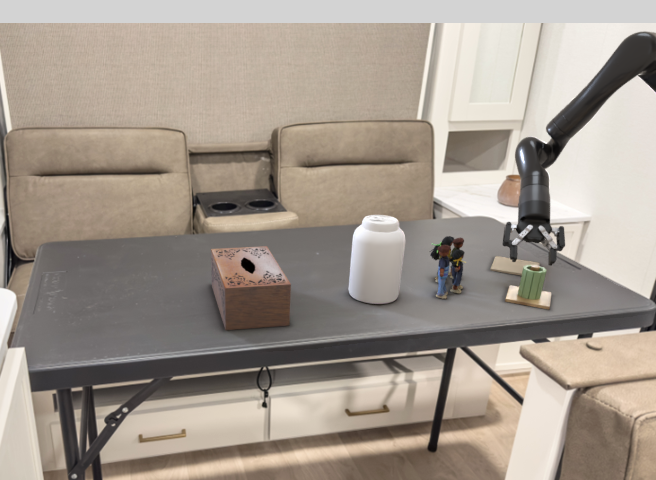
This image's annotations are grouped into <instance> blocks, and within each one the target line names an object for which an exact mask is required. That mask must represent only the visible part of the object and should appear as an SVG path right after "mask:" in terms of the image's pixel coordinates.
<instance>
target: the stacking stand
mask: <svg viewBox="0 0 656 480" xmlns="http://www.w3.org/2000/svg"><path fill="white" fill-rule="evenodd" d="M539 266H540V265H539ZM539 266H537V265H531V268H530V270H532V271H539V269H540V267H541V266H540V267H539ZM518 290H519V286H516V285H511V284H509V286H508V289H507V292H506V296H505V298H504V302H506V303H511V304H517V305H521V306H528V307H534V308H539V309H544V310H547V311H549V310H550V307H551V302H552V301H551V300H552V292H551V291H546V290H542V292H541V297H540V299H536V300H531V299H526V298H522V297H520V296H519V295H518Z"/></svg>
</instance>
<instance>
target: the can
mask: <svg viewBox="0 0 656 480" xmlns="http://www.w3.org/2000/svg"><path fill="white" fill-rule="evenodd" d="M405 249H406V235H405V232H404V231H403V229H401V227H400V221H399V219H397V218H396V217H394V216H392V215H387V214H370V215H366V216H364V217H363V219H362V221H361V224H360V225H359V226H357V227H356V228H355V229H354V232H353V234H352V243H351V255H350V265H349V267H350V268H349V278H348V294H349V295H350V296H351V297H352V298H353V299H354V300H357V301H359V302H362V303H367V304H371V305H372V304H373V305H374V304H375V305H383V304H389V303H393V302H394V301H396V300H397V299H398V297H399V295H400V289H401V280H402V272H403V265H404V264H403V263H404V258H405V257H404V256H405Z"/></svg>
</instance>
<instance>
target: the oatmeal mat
mask: <svg viewBox="0 0 656 480" xmlns="http://www.w3.org/2000/svg"><path fill="white" fill-rule="evenodd" d="M540 264H541V263H540V262H537V261H530V260H523V259H518V258H517V260H516V262H512V260H510V257H504V256H499V255H495V257H494V259H493V262H492V264H491V266H490V269H489V270H490V271H491V272H496V273H497V272H498V273H502V274H508V275H509V274H510V275H515V276H520V277H521V276H522V271H523V267H524V266H526V265H537V266H540Z"/></svg>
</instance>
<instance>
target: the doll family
mask: <svg viewBox="0 0 656 480" xmlns="http://www.w3.org/2000/svg"><path fill="white" fill-rule="evenodd" d="M464 243H465V239H464V238H463V237H456V238H455V237H454V236H451V235H446V236H444V237H443V239H442V240H441V241H440V242H439V243H436V244H435V243H431V245H432V246H434V247H433V249H431V250H430V251H429V253H430V256H429V257H431V259H433V261H438V267H437V269H438V270H437V272H436V277H435V278H434V280H435V283H437V284H438V287H437V292H436V294H435V297H436V298H439V299H443V300H446V299H448V295H449V292H451V293H454V294H461V293H462V290H463V289H464V287H463V285H462V284H461V283H462V278H463V274H464V273H463V272H464V264H466V263H467V261H464V260H463V259H464V256H465V251H464V250H463V249H461V248H462V247H464ZM452 246H453V248H452ZM448 276H449V278H450V279H452V280H451V284H452V286H451V288H450V290H449V292H448V290H447V285H446V283H447V278H448Z"/></svg>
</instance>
